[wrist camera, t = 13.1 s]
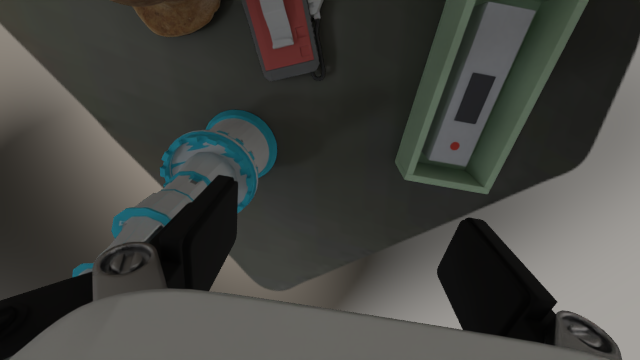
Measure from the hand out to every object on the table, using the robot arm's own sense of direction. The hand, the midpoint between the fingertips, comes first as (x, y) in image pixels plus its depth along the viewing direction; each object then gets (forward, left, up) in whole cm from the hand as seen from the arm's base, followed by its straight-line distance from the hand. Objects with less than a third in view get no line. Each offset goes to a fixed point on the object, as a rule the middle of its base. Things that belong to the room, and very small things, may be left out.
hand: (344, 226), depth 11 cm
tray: (-5, +14, -24) cm, 28 cm away
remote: (-5, +14, -24) cm, 28 cm away
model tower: (+7, -12, -24) cm, 28 cm away
